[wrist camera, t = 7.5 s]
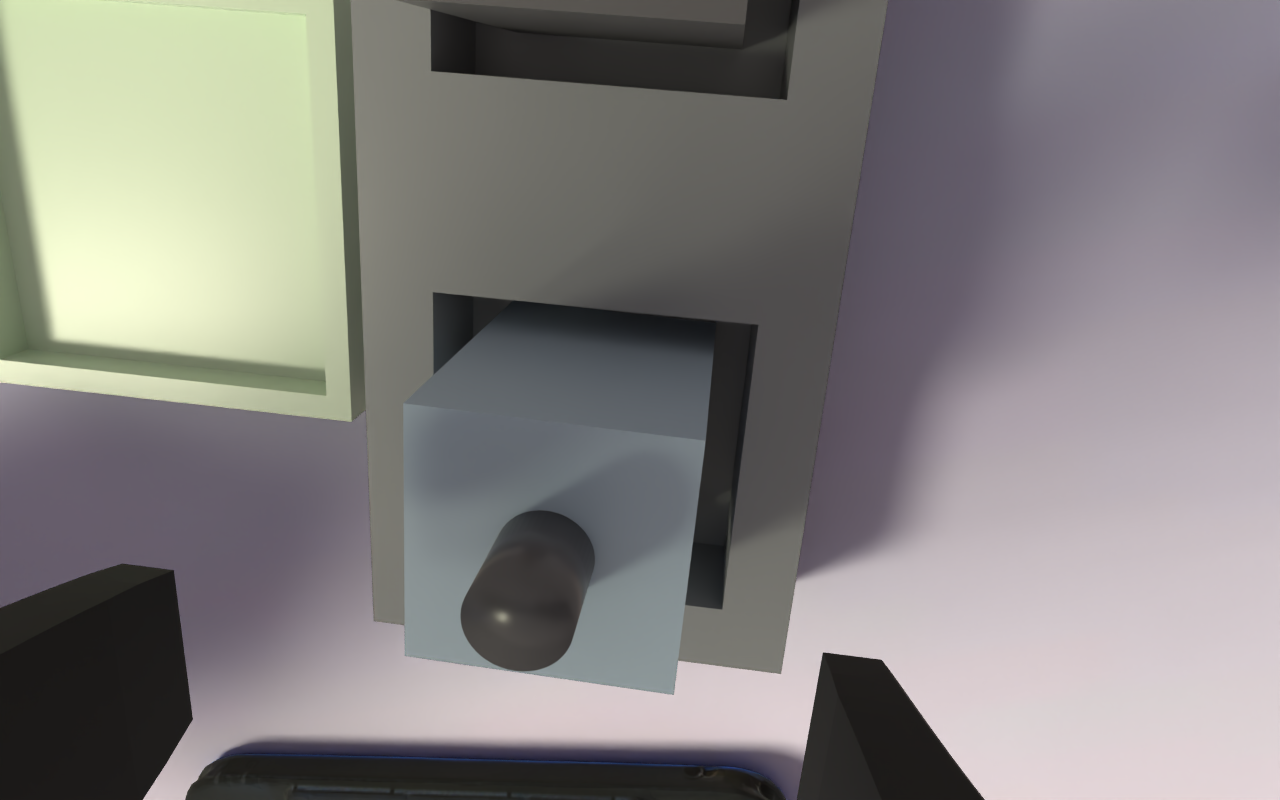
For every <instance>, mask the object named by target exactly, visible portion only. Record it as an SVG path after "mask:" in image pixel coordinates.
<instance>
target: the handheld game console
mask: <svg viewBox="0 0 1280 800" xmlns="http://www.w3.org/2000/svg"><path fill="white" fill-rule="evenodd" d="M185 800H786V799H785V797H784V795H783V793H782V791H781V790H780V789H779V788H778V787H777V786H776V785H775V784H774V783H773V782H772V781H771V780H770V779H768V778H766V777H765V776H763V775H761V774H760V773H757V772H753V771H750V770H746V769H742V768H735V767H727V766H698V765H667V764H636V763H607V762H569V761H527V760H488V759H453V758H424V757H385V756H337V755H290V754H235V755H231V756H228V757H224V758H221V759H218V760H216V761H214V762H213V763H211V764H209V765H208V766H206V767H205V768H204V770H203V771H202V773H201V774H200V776H199V778H198V780H197V781H196V782H194V783H193V784H192V785H191V787H190V789H189V790H188V792H187V796H186V799H185Z"/></svg>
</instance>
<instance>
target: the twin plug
mask: <svg viewBox="0 0 1280 800" xmlns="http://www.w3.org/2000/svg"><path fill="white" fill-rule="evenodd" d="M397 1H401V2H405V3H409V4H412V5H416V6H420V7H424V8H427V9H431V10H435V11H439V12H442V13H446V14H450V15H454V16H457V17H461V18H465V19H468V20H472V21H476V22H480V23H483V24H487V25H491V26H495V27H498V28H502V29H506V30H510V31H513V32H518V33H531V34H544V35H557V36H570V37H583V38H596V39H609V40H623V41H636V42H649V43H662V44H675V45H688V46H701V47H714V48H727V49H740V50H742V47H743V38H744V30H745V21H746V12H747V3H748V0H397Z"/></svg>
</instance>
